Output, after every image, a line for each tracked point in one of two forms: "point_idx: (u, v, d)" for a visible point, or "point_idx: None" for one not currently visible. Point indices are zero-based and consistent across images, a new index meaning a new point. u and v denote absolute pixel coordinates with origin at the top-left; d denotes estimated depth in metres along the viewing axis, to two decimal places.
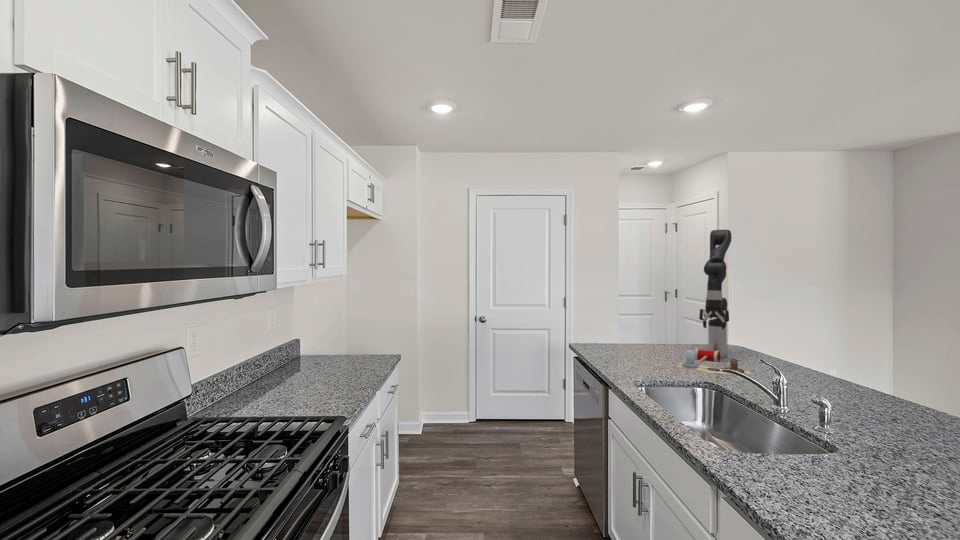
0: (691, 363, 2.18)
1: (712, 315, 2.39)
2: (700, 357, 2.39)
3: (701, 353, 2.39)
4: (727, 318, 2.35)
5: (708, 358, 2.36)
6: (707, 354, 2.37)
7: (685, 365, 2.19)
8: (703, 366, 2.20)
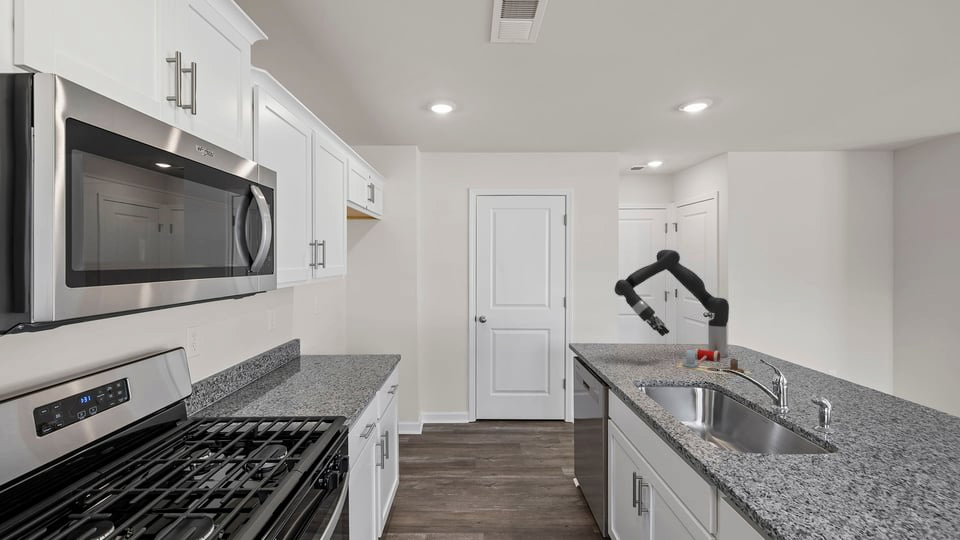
0: (691, 363, 2.18)
1: None
2: (700, 358, 2.39)
3: (701, 353, 2.38)
4: None
5: (708, 358, 2.36)
6: (707, 354, 2.36)
7: (685, 365, 2.19)
8: (703, 366, 2.20)
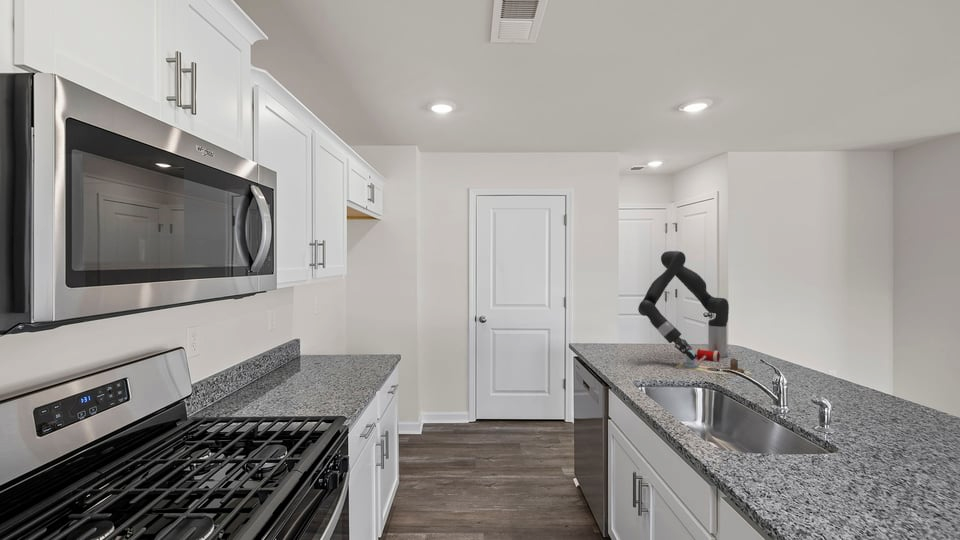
0: (691, 363, 2.18)
1: None
2: (699, 358, 2.39)
3: (700, 353, 2.38)
4: None
5: (707, 358, 2.36)
6: (706, 354, 2.36)
7: (685, 365, 2.19)
8: (703, 366, 2.20)
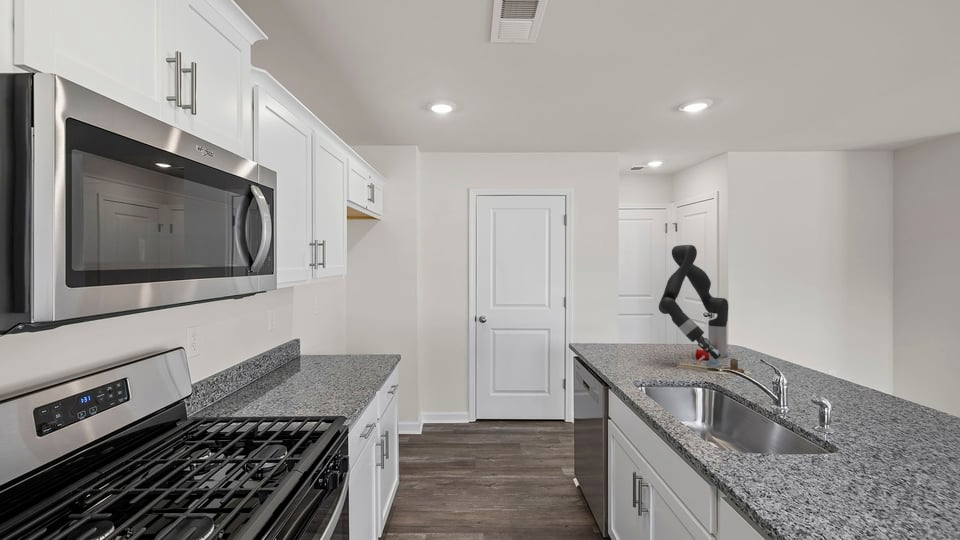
0: (714, 362, 2.11)
1: None
2: (698, 357, 2.39)
3: (699, 353, 2.39)
4: (705, 351, 2.11)
5: (706, 358, 2.36)
6: (705, 354, 2.37)
7: (708, 364, 2.12)
8: (703, 366, 2.20)
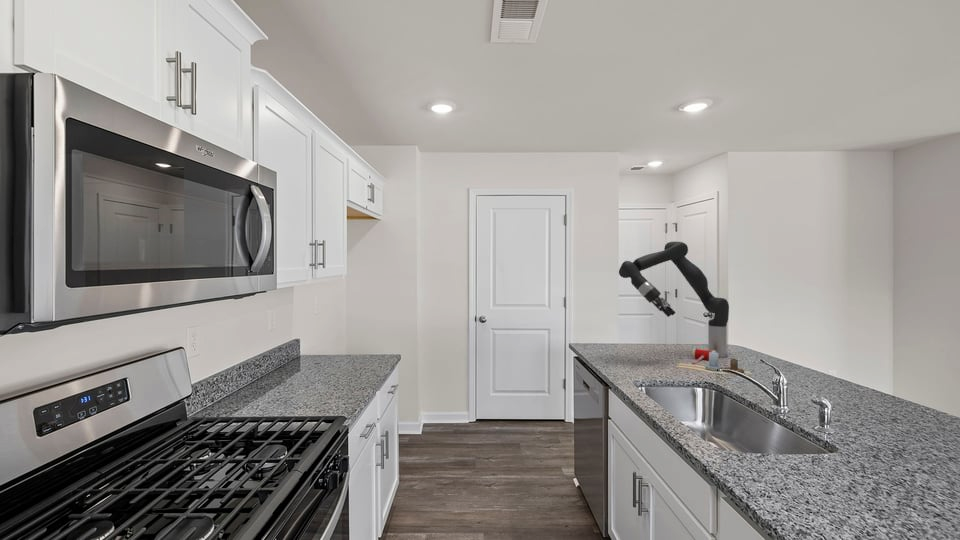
0: (714, 365, 2.12)
1: None
2: (697, 357, 2.40)
3: (698, 353, 2.39)
4: None
5: (705, 358, 2.37)
6: (704, 354, 2.37)
7: (708, 367, 2.12)
8: (703, 366, 2.20)
